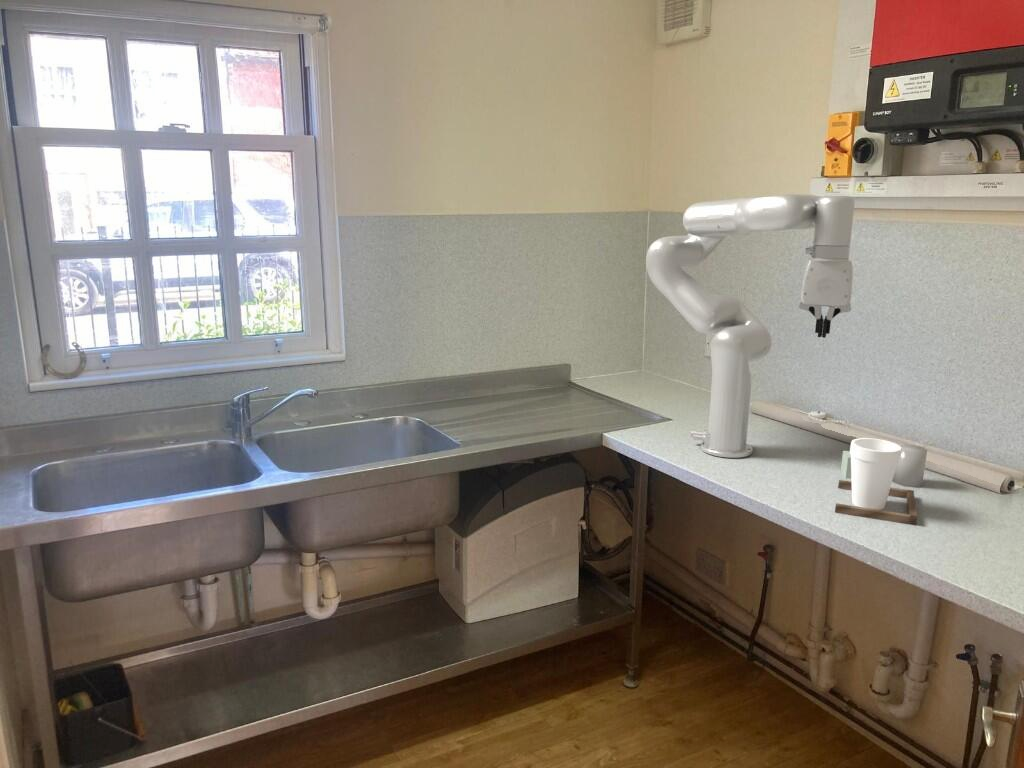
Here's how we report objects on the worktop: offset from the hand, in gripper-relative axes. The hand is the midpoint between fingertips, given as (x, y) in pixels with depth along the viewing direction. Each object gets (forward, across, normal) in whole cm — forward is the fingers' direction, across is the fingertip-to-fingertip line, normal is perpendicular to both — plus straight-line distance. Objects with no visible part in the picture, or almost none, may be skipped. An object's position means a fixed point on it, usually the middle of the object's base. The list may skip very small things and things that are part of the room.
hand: (821, 336), depth 175 cm
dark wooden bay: (+32, +14, -15) cm, 38 cm away
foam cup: (+32, +13, -15) cm, 38 cm away
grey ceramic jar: (+32, +21, +3) cm, 39 cm away
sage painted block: (+32, +10, +3) cm, 34 cm away
